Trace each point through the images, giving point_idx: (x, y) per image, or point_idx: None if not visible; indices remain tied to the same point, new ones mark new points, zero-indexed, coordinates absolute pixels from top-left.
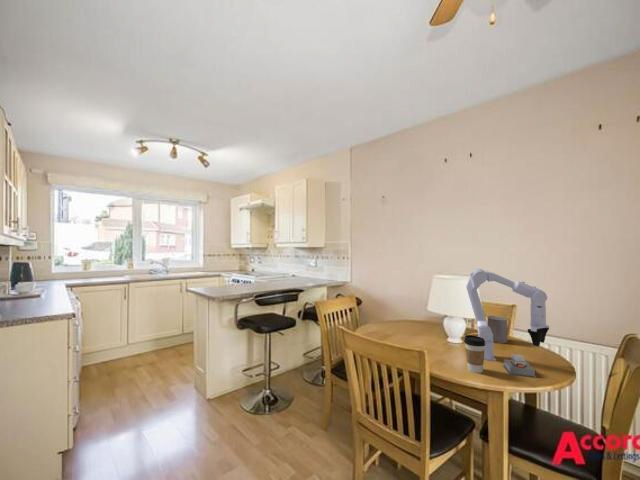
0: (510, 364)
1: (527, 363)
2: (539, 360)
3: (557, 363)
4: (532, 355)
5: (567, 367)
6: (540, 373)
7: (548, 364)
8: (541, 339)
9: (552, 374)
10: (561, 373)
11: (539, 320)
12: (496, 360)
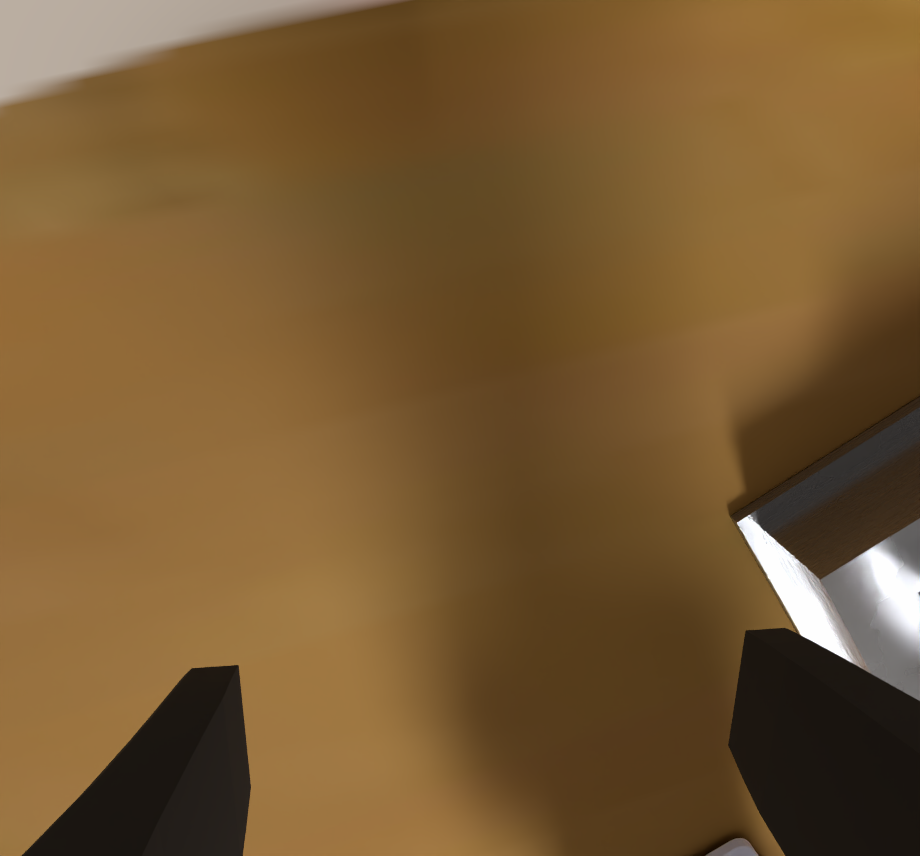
0: None
1: (916, 537)
2: (182, 520)
3: (54, 271)
4: (11, 666)
5: (125, 81)
6: (801, 340)
7: (265, 367)
8: (221, 793)
9: (721, 201)
10: (564, 101)
11: None
12: (741, 843)
